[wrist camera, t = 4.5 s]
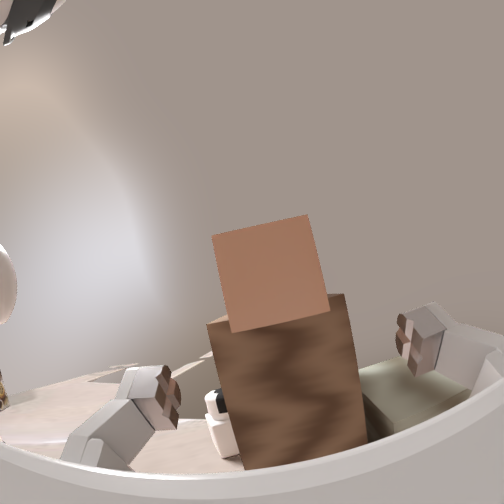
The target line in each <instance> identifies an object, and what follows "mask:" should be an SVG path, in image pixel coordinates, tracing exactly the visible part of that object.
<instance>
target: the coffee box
mask: <svg viewBox="0 0 504 504" xmlns="http://www.w3.org/2000/svg"><path fill="white" fill-rule="evenodd" d="M9 406H10V403H9V400H8V397H7V393H6V391H5V387H4V383H3V379H2V375H1V372H0V411H2V410H4V409H5V408H7V407H9Z"/></svg>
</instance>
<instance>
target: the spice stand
mask: <svg viewBox="0 0 504 504" xmlns="http://www.w3.org/2000/svg"><path fill="white" fill-rule="evenodd" d="M327 297H328V302H329V306H330V311H328V312H325V313H321V314H317V315H313V316H309V317H304V318H300V319H296V320H292V321H287V322H283V323H279V324H274V325H270V326H265V327H260V328H255V329H251V330H246V331H241V332H236V333H232V332H231V328H230V323H229V319H228V314H227V315H225V316H223V317H221V318H219V319H217V320H214V321H212V322H210V323H208V324H206V325H207V330H208V334H209V338H210V343H211V347H212V352H213V356H214V360H215V364H216V368H217V372H218V376H219V380H220V384H221V388H222V392H223V396H224V400H225V404H226V407H227V411H228V415H229V418H230V422H231V425H232V429H233V432H234V436H235V439H236V443H237V446H238V449H239V453H240V456H241V459H242V463H243V466H244V469H245V470H254V469H262V468H269V467H275V466H281V465H287V464H292V463H297V462H302V461H307V460H311V459H316V458H320V457H324V456H328V455H332V454H335V453H339V452H343V451H346V450H350V449H353V448H356V447H359V446H362V445H366V444H369V443H372V442H374V441H377V440H380V439H383V438H386V437H388V436H391V435H394V434H396V433H399V432H401V431H404V430H406V429H408V428H411V427H413V426H415V425H418V424H420V423H422V422H424V421H427V420H429V419H431V418H433V417H435V416H437V415H439V414H441V413H443V412H445V411H447V410H449V409H451V408H453V407H455V406H457V405H458V404H460V403H462V402H464V401H466V400H467V399H468V398H469V396H470V394H471V392H472V390H470V389H468V388H466V387H464V386H462V385H460V384H459V383H457V382H455V381H453V380H451V379H449V378H447V377H445V376H444V375H442V374H440V373H438V372H436V371H435V370H433V371H430V372H428V373H425V374H423V375H420V376H417V377H414V375H413V374H412V372H411V371H410V369H409V368H408V366H407V363H408V360H407V359H405V358H402V357H401V355H400V356H398V357H395V358H392V359H389V360H386V361H384V362H381V363H378V364H375V365H372V366H369V367H366V368H362V369H359V370H358V366H357V359H356V354H355V347H354V342H353V337H352V332H351V326H350V321H349V316H348V311H347V306H346V301H345V297H344V294H327Z"/></svg>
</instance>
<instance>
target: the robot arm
mask: <svg viewBox="0 0 504 504" xmlns="http://www.w3.org/2000/svg"><path fill="white" fill-rule="evenodd" d="M65 1H66V0H0V34H1V33H3V32H4V31H5V30H6V32H5V37H4V42H3V45H4V46H5V45H8V44H10V43H12V41H13V40H14V39H15V37H16V36H17V35H19V34H22V33H25V32H27V31H30V30H32V29H33V28H35V27H37V26H38V25H40V24H41V23H42V22H44V21H46V20H47V19H48V18H50V17H51V15H52V14H53V12H54V11H55V10H57V9H58V8H59V7H60V6H61V5H62V4H63V3H64V2H65ZM16 296H17V280H16V274H15V270H14V267H13V264H12V261H11V259H10V257H9V256H8V254H7V252H6V251H5V250H4V248H3V247H2V246H1V245H0V324H3V323H6V322H7V320H8V319H9V317H10V315H11V313H12V311H13V309H14V306H15V301H16ZM397 324H398V326H399V327H400V328H399V330H398V331H397V333H396V345H397V349H398V352H399V354H400V355H401V357H402V358H405V359H407V360H408V363H407V366H408V368H409V369H410V371H411V372H412V374H413V375H414V377H417V376H420V375H423V374H425V373H428V372H430V371H433V370H435V371H436V372H438V373H440V374H442V375H444V376H445V377H447V378H449V379H451V380H453V381H455V382H457V383H459V384H460V385H462V386H464V387H466V388H468V389H470V390H472V392H471V394H470V396H469V398H468V399H467V400H466V401H464V402H462V403H460V404H458V405H457V406H455V407H453V408H451V409H449V410H447V411H445V412H443V413H441V414H439V415H437V416H435V417H433V418H431V419H429V420H427V421H424V422H422V423H420V424H418V425H415V426H413V427H411V428H408V429H406V430H404V431H401V432H399V433H396V434H394V435H391V436H388V437H386V438H383V439H380V440H377V441H374V442H372V443H369V444H366V445H362V446H359V447H356V448H353V449H350V450H346V451H343V452H339V453H335V454H332V455H328V456H324V457H320V458H316V459H311V460H307V461H302V462H297V463H292V464H287V465H281V466H275V467H269V468H262V469H254V470H245V471H235V472H223V473H204V474H162V473H144V472H135V471H134V470H133V469H132V468H131V467H130V466H129V464H130V463H131V462H132V461H133V459H134V458H135V457H136V456H137V454H138V453H139V452H140V451H141V449H142V448H143V447H144V446H145V444H146V443H147V442H148V440H149V439H150V438H151V437H152V435H153V434H154V433H155V431H159V430H177V424H178V418H179V414H178V413H177V411H176V410H177V409H178V407H179V406H180V405H181V393H180V389H179V386H178V384H177V382H176V381H175V380H173V379H172V378H170V377H171V371H170V369H169V368H168V366H166V365H159V366H146V367H133V368H128V369H126V371H125V373H124V376H123V378H122V381H121V383H120V386H119V389H118V391H117V394H116V397H115V399H112V400H110V401H109V402H108V403H106V404H105V405H104V406H103V407H102V408H100V409H99V410H98V411H97V412H96V413H95V414H93V415H92V416H91V417H90V418H89V419H87V420H86V421H85V422H84V423H83V424H82V425H80V426H79V427H78V428H77V429H76V430H74V431H73V432H72V433H71V434H70V435H69V437H68V440H67V442H66V445H65V447H64V450H63V452H62V455H61V458H60V460H59V459H55V458H51V457H47V456H43V455H40V454H36V453H33V452H29V451H26V450H23V449H20V448H17V447H14V446H11V445H9V444H6V443H5V442H4V441H2V439H1V437H0V504H504V335H500V334H497V333H494V332H491V331H487V330H484V329H480V328H477V327H474V326H470V325H467V324H464V323H461V324H458V323H457V322H456V321H455V320H454V319H453V318H452V317H451V316H450V315H449V314H448V313H447V312H446V311H445V310H444V309H443V308H442V307H441V306H440V305H439V304H438V303H436V302H434V301H433V302H430V303H428V304H426V305H423V306H421V307H418V308H415V309H412V310H410V311H407V312H404V313H401V314H399V315H398V318H397Z"/></svg>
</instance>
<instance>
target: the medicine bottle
mask: <svg viewBox="0 0 504 504" xmlns="http://www.w3.org/2000/svg"><path fill="white" fill-rule="evenodd" d="M205 401H206V404H207V408H208V412H209V414H206V415H205V417H206V420H207V424H208V427H209V430H210V434H211V437H212V440H213V443H214V445H215V447H216V449H217V451H218V453H219V454H220V456H221V458H227V457H230V456H234V455H237V454H240V453H239V449H238V446H237V443H236V439H235V436H234V432H233V429H232V425H231V422H230V418H229V415H228V411H227V407H226V404H225V400H224V396H223V392H222V388H220V389H216V390H213V391H211V392H210V393H208V394H207V395H206V396H205Z"/></svg>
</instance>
